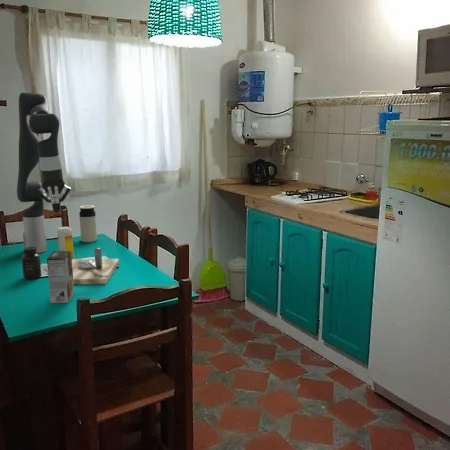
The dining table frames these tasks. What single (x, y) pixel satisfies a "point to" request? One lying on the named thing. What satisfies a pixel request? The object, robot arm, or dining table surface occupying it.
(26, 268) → the supplement bottle
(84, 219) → the travel mug
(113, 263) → the wooden cutting board
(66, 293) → the coffee box
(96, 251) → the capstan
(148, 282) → the dining table surface
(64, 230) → the yellow white bottle
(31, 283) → the dining table surface
